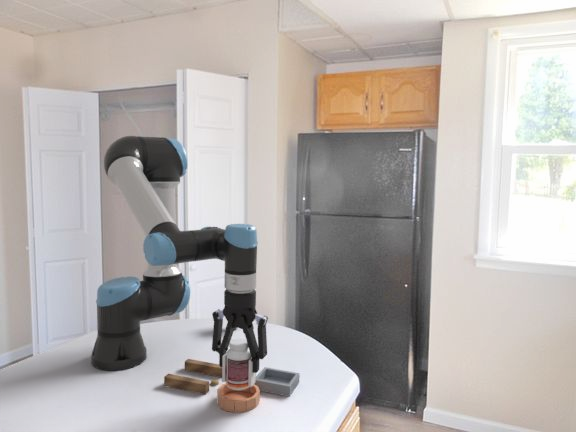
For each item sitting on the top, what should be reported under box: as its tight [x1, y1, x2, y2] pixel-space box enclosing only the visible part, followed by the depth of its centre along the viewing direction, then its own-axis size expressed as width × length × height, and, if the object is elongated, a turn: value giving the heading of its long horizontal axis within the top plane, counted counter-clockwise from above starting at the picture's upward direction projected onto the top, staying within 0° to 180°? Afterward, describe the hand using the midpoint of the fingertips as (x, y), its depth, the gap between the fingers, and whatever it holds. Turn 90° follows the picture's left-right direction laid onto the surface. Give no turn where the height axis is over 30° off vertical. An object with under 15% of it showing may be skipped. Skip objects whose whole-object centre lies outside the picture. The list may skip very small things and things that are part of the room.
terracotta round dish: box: [216, 382, 261, 413], centre depth 115 cm, size 10×10×3 cm
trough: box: [254, 366, 301, 397], centre depth 123 cm, size 10×8×3 cm
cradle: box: [163, 358, 222, 395], centre depth 125 cm, size 12×12×2 cm
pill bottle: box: [225, 337, 251, 390], centre depth 114 cm, size 6×6×11 cm
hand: (238, 381), depth 114 cm, fingers closed on pill bottle, 6 cm apart
